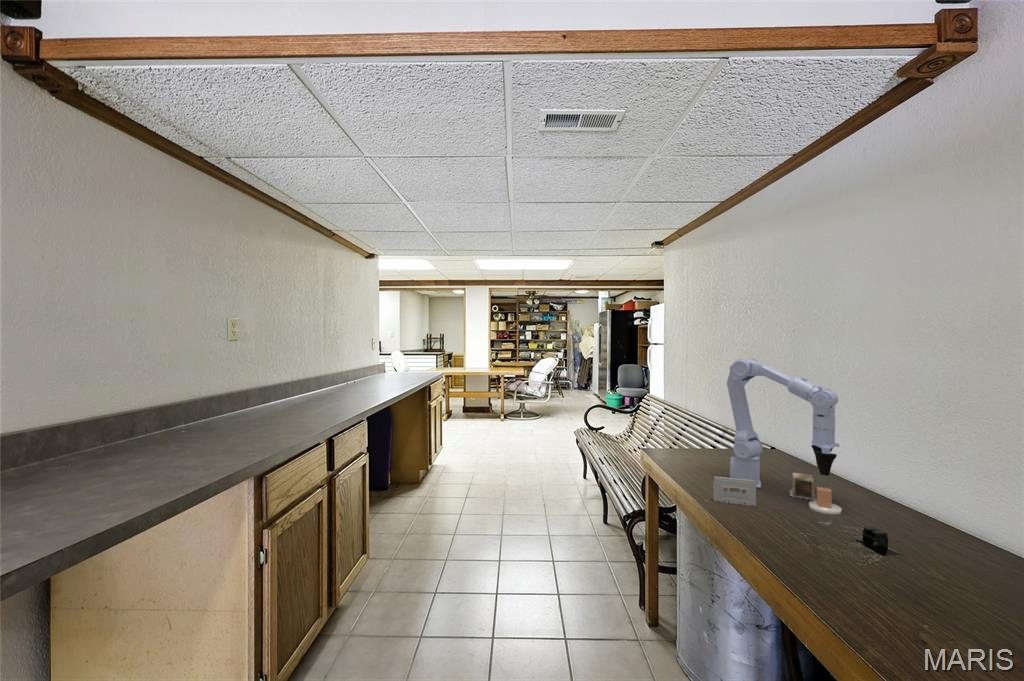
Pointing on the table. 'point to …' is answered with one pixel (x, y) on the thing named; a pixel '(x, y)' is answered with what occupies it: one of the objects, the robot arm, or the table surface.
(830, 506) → the block
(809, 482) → the beige open box
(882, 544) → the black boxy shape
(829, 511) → the dish
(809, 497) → the pad
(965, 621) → the table surface
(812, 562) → the table surface
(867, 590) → the table surface
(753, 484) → the cassette
